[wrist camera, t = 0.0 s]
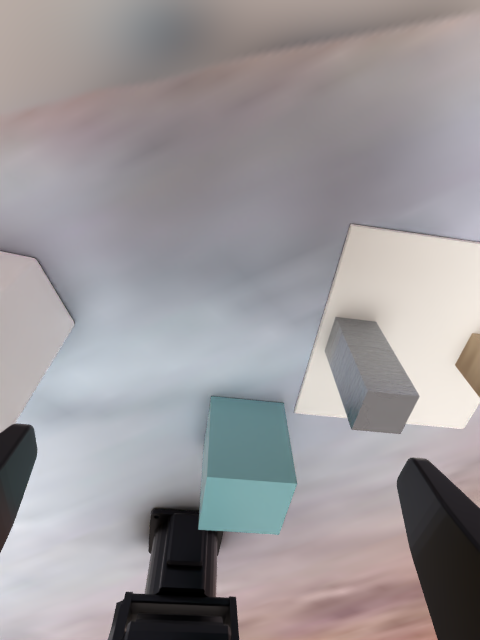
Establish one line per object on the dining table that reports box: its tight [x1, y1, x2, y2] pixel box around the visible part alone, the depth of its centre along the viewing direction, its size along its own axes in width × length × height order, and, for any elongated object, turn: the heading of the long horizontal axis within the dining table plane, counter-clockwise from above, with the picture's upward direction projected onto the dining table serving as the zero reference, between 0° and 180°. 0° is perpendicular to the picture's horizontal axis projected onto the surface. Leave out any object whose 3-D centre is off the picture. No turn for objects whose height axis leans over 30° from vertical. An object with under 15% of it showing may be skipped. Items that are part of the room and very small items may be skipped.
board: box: [294, 224, 480, 429], centre depth 26 cm, size 14×13×1 cm
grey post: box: [325, 317, 420, 434], centre depth 23 cm, size 3×3×7 cm
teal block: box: [198, 396, 297, 535], centre depth 27 cm, size 5×5×7 cm
